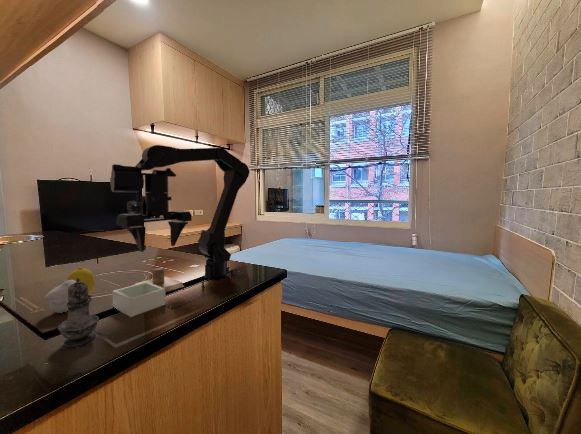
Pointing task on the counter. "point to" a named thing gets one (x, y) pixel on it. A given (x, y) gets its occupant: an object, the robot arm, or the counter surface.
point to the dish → (138, 298)
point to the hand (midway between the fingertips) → (158, 248)
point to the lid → (162, 280)
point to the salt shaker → (78, 318)
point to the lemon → (83, 277)
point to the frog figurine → (59, 297)
